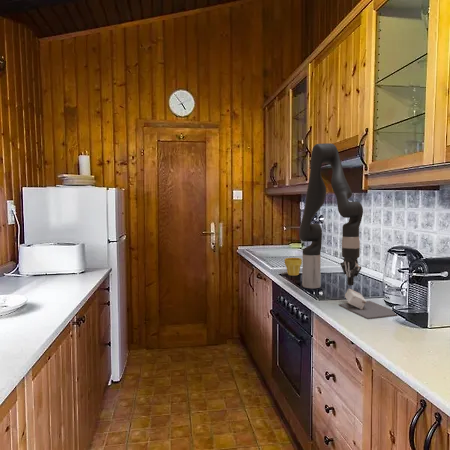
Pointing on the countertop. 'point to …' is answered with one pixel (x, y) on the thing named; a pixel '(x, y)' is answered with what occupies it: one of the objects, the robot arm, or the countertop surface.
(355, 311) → the mat
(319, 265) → the robot arm
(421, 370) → the countertop surface
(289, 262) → the plant pot
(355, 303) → the skincare box
